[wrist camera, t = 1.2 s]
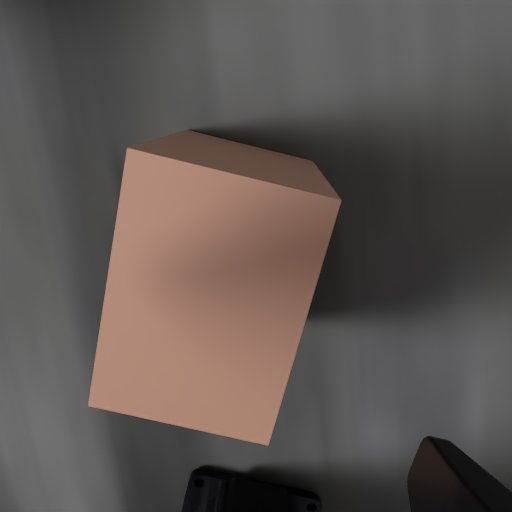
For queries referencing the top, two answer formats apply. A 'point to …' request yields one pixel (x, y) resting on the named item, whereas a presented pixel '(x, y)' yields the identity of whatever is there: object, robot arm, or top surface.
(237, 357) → the tea box
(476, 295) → the top surface
